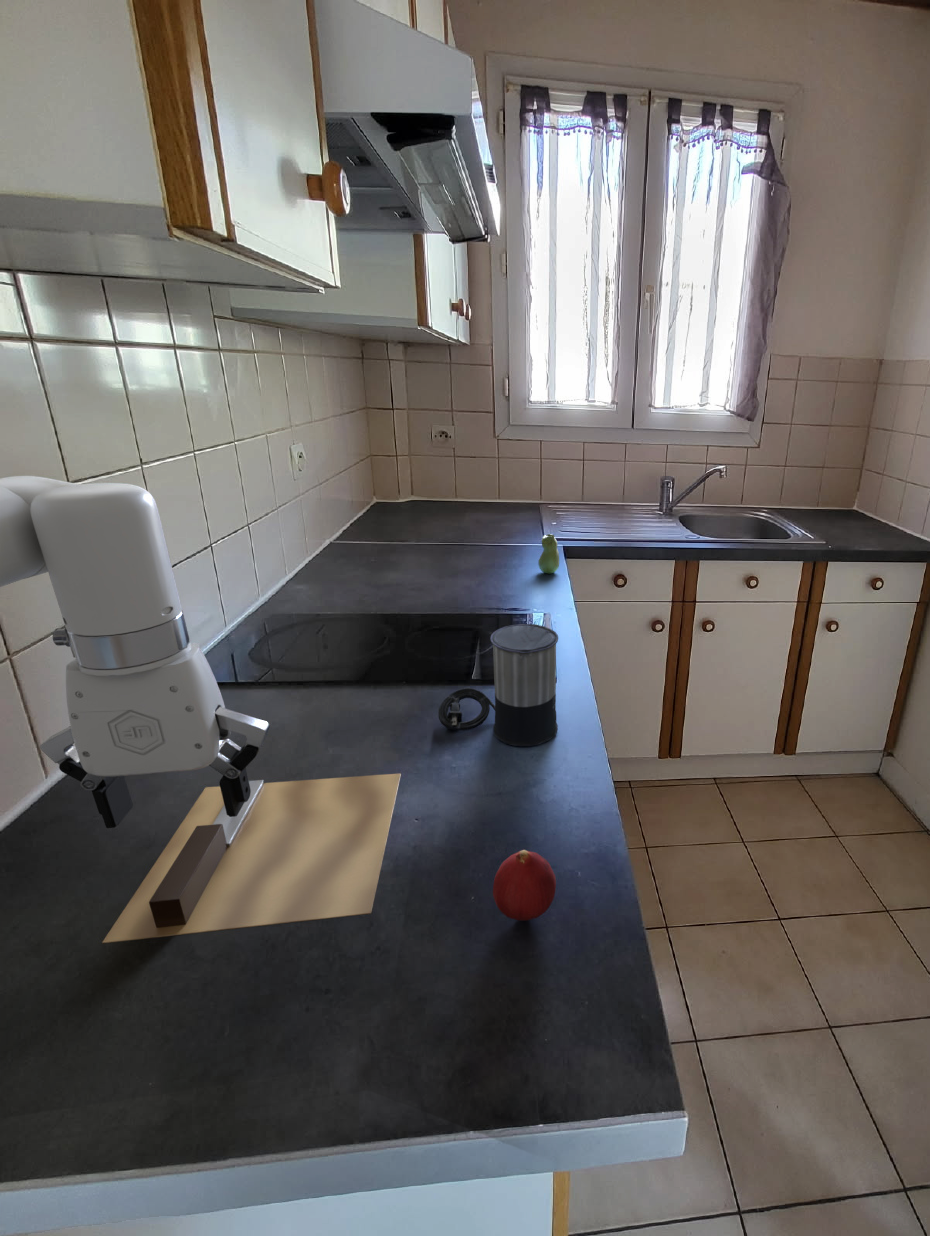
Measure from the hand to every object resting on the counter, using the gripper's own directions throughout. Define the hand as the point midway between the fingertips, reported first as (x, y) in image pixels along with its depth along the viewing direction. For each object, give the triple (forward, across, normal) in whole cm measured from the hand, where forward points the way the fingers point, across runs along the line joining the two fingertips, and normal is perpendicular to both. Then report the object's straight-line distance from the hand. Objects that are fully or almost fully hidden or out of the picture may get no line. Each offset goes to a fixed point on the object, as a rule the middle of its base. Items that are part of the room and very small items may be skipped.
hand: (180, 812), depth 58 cm
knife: (+8, -1, +6) cm, 10 cm away
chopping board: (+10, +6, +5) cm, 13 cm away
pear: (+10, +42, +101) cm, 110 cm away
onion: (+11, +30, -7) cm, 33 cm away
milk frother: (+10, +28, +28) cm, 41 cm away
